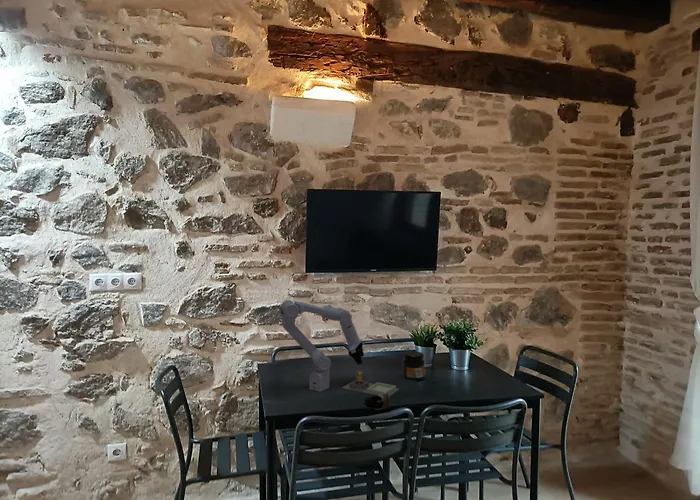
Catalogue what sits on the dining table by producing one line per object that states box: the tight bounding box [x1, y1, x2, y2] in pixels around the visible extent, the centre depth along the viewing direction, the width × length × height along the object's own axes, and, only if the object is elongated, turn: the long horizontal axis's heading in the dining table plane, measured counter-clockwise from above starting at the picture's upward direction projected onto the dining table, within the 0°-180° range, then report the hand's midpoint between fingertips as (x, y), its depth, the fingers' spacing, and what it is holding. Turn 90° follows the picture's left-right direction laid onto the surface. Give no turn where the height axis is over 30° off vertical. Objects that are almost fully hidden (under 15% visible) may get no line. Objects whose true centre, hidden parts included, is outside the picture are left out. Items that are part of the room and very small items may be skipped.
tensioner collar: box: [348, 379, 370, 389], centre depth 231 cm, size 7×7×1 cm
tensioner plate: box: [341, 379, 400, 398], centre depth 227 cm, size 12×23×1 cm, turn 60°
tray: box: [367, 382, 397, 394], centre depth 225 cm, size 10×9×1 cm
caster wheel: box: [364, 392, 391, 411], centre depth 207 cm, size 7×11×10 cm
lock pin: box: [355, 370, 364, 384], centre depth 231 cm, size 3×3×6 cm
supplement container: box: [402, 350, 425, 382], centre depth 244 cm, size 10×10×12 cm
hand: (360, 360), depth 234 cm, fingers open, 7 cm apart
